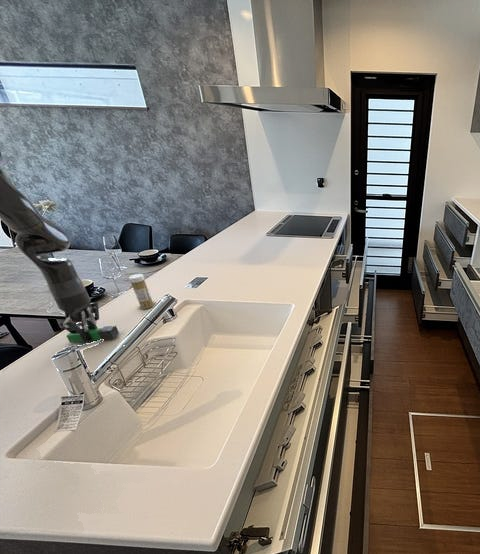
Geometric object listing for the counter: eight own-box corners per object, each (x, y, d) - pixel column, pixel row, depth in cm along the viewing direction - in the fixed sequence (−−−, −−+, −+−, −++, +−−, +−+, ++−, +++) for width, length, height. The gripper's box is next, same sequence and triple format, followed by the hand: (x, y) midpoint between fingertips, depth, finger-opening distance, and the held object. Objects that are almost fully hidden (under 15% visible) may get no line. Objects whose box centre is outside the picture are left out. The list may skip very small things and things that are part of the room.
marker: (69, 343, 99) (64, 335, 98) (76, 337, 102) (72, 329, 101) (113, 338, 101) (109, 330, 99) (119, 333, 104) (115, 325, 102)
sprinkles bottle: (156, 303, 124) (145, 273, 118) (150, 308, 119) (138, 278, 114) (144, 303, 123) (133, 273, 118) (137, 309, 119) (125, 278, 114)
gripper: (65, 301, 88) (90, 349, 95) (97, 281, 101) (117, 324, 108) (36, 304, 87) (63, 352, 95) (72, 283, 100) (94, 327, 107)
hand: (92, 337), depth 101 cm, fingers closed on marker, 2 cm apart
